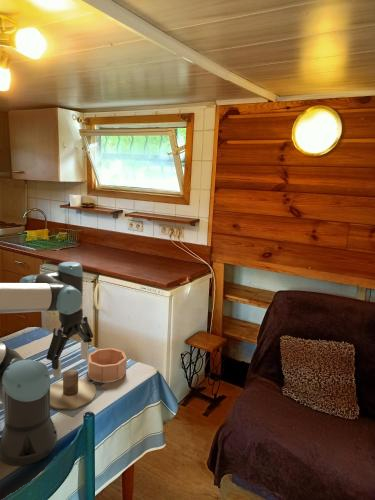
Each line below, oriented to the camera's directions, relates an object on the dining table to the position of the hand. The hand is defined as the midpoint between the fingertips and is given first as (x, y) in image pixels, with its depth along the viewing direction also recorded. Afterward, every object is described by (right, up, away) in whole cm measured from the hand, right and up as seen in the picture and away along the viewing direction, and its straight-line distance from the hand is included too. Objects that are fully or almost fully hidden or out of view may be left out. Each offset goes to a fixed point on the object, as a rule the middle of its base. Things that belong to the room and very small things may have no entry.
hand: (71, 367), depth 126 cm
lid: (-1, -10, +2) cm, 10 cm away
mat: (-1, -10, +2) cm, 10 cm away
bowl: (+8, -8, +17) cm, 21 cm away
